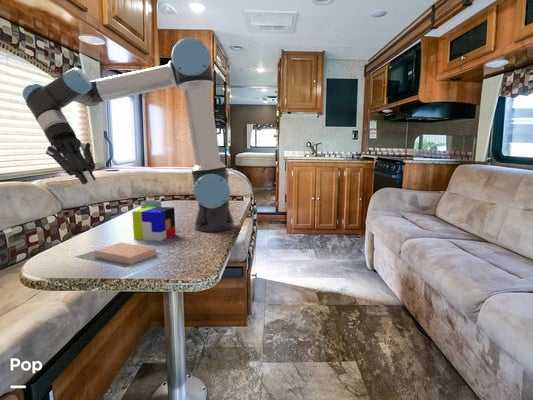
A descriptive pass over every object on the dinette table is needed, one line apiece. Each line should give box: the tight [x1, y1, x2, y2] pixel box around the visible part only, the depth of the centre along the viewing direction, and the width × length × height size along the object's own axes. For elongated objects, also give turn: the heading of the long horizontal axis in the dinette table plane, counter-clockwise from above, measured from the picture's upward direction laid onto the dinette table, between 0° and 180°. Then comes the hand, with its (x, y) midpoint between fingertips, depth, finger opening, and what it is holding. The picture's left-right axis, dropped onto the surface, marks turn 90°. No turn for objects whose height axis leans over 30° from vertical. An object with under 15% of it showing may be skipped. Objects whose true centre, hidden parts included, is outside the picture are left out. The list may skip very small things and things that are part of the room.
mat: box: [74, 250, 163, 268], centre depth 94 cm, size 20×13×1 cm, turn 64°
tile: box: [93, 242, 157, 266], centre depth 93 cm, size 2×9×14 cm
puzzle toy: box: [132, 206, 177, 242], centre depth 114 cm, size 10×10×10 cm
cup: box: [140, 199, 163, 209], centre depth 132 cm, size 8×8×10 cm
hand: (94, 191), depth 99 cm, fingers closed
